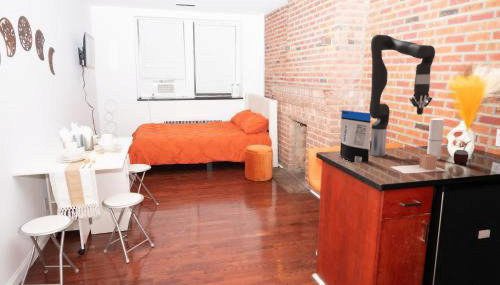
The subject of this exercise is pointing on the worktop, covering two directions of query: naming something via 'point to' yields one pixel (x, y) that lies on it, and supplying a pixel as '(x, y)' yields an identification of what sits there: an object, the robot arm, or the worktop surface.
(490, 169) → the worktop surface
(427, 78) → the robot arm
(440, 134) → the cylindrical container
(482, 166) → the worktop surface
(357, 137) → the protein powder
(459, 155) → the mate gourd
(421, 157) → the salmon pink cube
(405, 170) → the white board
